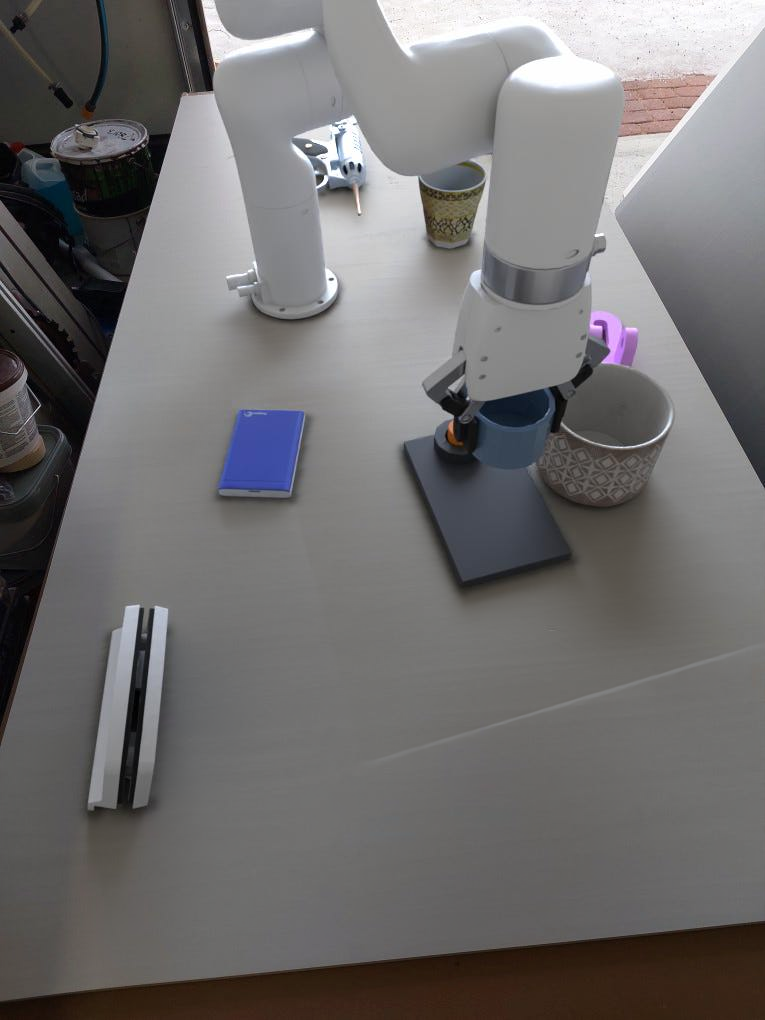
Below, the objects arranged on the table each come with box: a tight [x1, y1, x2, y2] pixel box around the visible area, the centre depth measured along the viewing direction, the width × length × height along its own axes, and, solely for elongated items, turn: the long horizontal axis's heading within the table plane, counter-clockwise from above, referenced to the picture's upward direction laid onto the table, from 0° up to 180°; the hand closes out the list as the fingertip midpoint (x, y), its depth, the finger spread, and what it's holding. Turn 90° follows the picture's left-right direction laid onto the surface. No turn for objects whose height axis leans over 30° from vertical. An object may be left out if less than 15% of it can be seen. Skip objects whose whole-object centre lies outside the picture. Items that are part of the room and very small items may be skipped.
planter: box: [535, 363, 676, 507], centre depth 75 cm, size 13×13×10 cm
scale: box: [403, 418, 573, 589], centre depth 76 cm, size 12×20×3 cm, turn 16°
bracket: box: [589, 310, 639, 368], centre depth 89 cm, size 13×6×7 cm, turn 172°
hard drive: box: [217, 408, 306, 499], centre depth 81 cm, size 2×8×12 cm
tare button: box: [448, 421, 463, 447], centre depth 78 cm, size 3×3×2 cm
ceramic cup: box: [417, 159, 488, 250], centre depth 105 cm, size 13×10×10 cm
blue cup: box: [472, 387, 555, 470], centre depth 62 cm, size 7×7×5 cm
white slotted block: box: [87, 604, 169, 811], centre depth 60 cm, size 17×5×10 cm, turn 6°
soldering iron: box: [292, 117, 367, 217], centre depth 118 cm, size 6×28×16 cm
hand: (507, 431), depth 64 cm, fingers closed on blue cup, 7 cm apart
